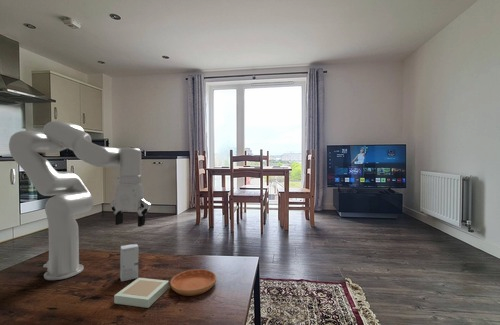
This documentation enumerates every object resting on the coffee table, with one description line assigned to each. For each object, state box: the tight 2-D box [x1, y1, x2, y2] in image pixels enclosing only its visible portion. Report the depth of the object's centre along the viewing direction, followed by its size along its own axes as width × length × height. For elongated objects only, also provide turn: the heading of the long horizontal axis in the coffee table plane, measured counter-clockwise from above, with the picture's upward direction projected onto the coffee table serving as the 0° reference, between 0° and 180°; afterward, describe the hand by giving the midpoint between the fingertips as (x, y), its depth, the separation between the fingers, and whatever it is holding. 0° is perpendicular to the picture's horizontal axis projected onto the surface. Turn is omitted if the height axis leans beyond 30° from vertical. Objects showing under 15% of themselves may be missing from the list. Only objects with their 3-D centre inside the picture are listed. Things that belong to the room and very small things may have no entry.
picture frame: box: [113, 277, 170, 309], centre depth 82 cm, size 12×12×3 cm
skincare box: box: [119, 243, 140, 282], centre depth 94 cm, size 6×4×12 cm
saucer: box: [169, 268, 217, 297], centre depth 88 cm, size 16×16×3 cm
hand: (130, 224), depth 94 cm, fingers open, 9 cm apart
